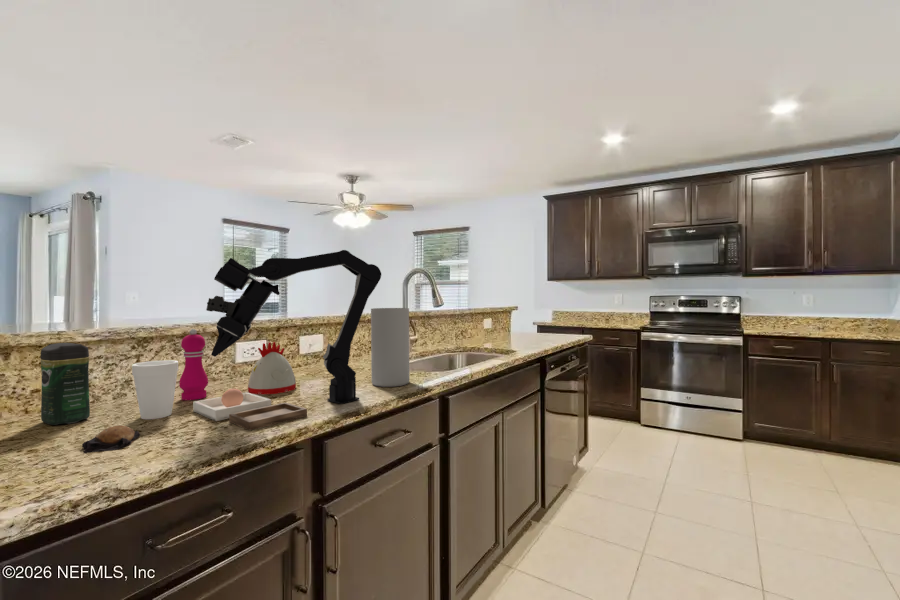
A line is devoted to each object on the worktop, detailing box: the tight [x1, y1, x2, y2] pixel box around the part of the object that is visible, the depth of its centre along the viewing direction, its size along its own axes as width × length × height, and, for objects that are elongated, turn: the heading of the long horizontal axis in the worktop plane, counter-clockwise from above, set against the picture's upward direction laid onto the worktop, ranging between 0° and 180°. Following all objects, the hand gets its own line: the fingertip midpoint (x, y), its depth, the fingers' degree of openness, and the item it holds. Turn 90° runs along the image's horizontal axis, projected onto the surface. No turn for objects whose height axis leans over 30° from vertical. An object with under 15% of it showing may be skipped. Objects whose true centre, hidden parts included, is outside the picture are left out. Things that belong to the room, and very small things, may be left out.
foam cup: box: [131, 359, 179, 420], centre depth 105 cm, size 10×9×13 cm
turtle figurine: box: [81, 425, 141, 454], centre depth 86 cm, size 11×8×4 cm
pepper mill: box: [178, 328, 209, 401], centre depth 124 cm, size 7×7×20 cm
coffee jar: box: [39, 342, 91, 426], centre depth 101 cm, size 10×8×19 cm
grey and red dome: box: [247, 341, 297, 395], centre depth 134 cm, size 14×14×15 cm
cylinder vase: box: [370, 307, 410, 388], centre depth 142 cm, size 12×12×25 cm
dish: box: [192, 391, 272, 422], centre depth 110 cm, size 14×14×2 cm
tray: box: [228, 402, 308, 431], centre depth 102 cm, size 14×10×2 cm
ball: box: [221, 388, 243, 407], centre depth 110 cm, size 5×5×5 cm
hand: (216, 353), depth 108 cm, fingers open, 9 cm apart
